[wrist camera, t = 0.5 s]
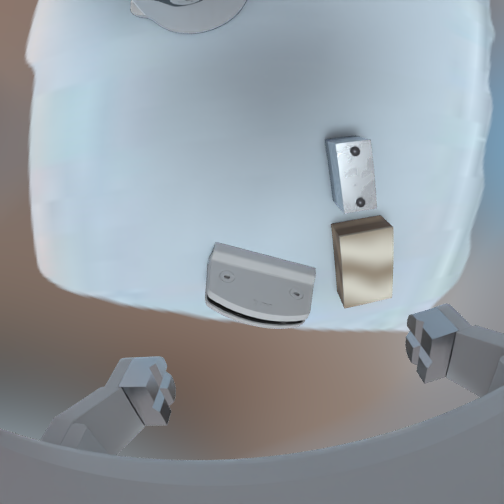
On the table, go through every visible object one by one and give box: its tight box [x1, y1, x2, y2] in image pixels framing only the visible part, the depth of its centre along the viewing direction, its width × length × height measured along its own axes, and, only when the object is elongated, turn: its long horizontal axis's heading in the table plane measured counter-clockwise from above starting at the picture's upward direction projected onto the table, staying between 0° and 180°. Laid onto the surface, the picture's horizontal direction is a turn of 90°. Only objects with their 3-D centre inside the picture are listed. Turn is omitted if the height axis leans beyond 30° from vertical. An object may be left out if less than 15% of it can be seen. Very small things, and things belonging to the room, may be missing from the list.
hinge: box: [205, 242, 316, 329], centre depth 45 cm, size 17×5×10 cm, turn 74°
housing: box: [325, 136, 377, 214], centre depth 38 cm, size 9×5×6 cm, turn 12°
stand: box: [331, 215, 393, 308], centre depth 45 cm, size 12×8×5 cm, turn 11°
